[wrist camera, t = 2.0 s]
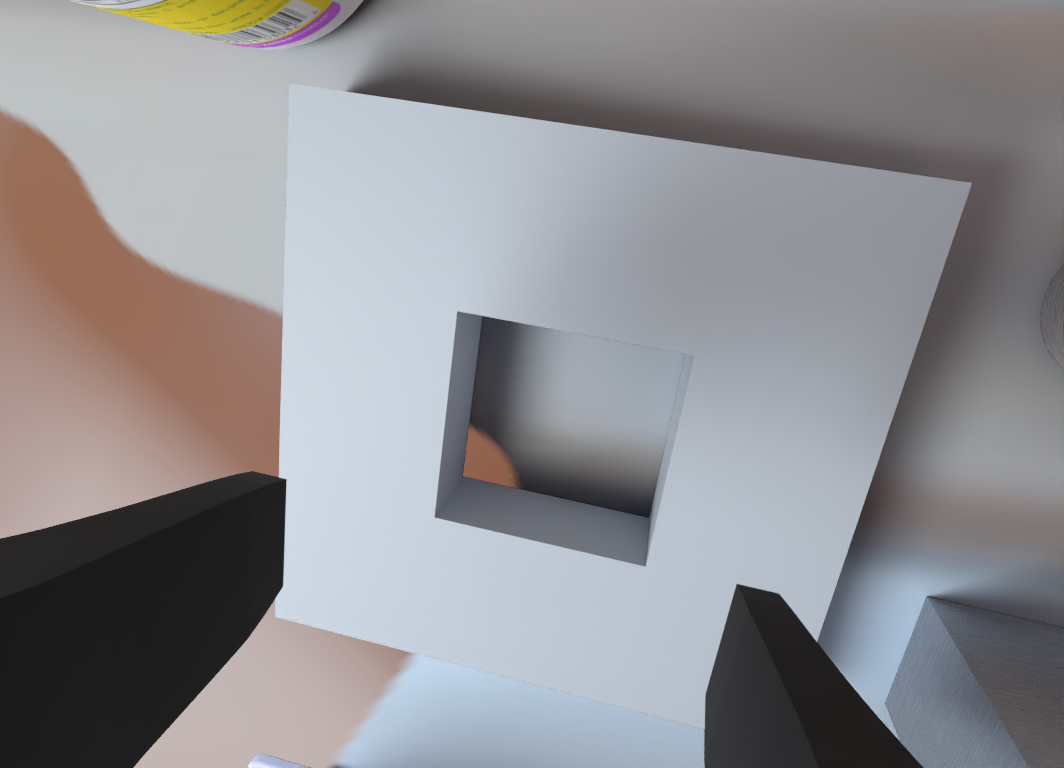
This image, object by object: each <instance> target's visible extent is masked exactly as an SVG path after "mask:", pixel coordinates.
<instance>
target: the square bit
mask: <svg viewBox="0 0 1064 768" xmlns="http://www.w3.org/2000/svg"><path fill="white" fill-rule="evenodd" d="M885 704H886V707H887V709H888V712H889V714H890V717H891V719H892V722H893V724H894V727H895V729H896V732H897V734H898V737H899V739H900V742H901V743H902V744H903V746H904V747H905V748H906V749H907V750H908V751H909V752H910V753H911V754H912V756H913V757H914V758H915V759H916V760H917V761H918V762H919V763H920V764H921V765H922V766H923V767H924V768H1064V627H1059V626H1055V625H1051V624H1046V623H1042V622H1037V621H1033V620H1028V619H1024V618H1020V617H1015V616H1011V615H1006V614H1002V613H997V612H993V611H989V610H984V609H980V608H975V607H971V606H966V605H962V604H958V603H953V602H949V601H944V600H940V599H935V598H931V597H927V598H926V600H925V603H924V605H923V608H922V611H921V613H920V616H919V618H918V621H917V623H916V626H915V628H914V631H913V634H912V636H911V639H910V641H909V644H908V646H907V649H906V651H905V654H904V657H903V659H902V662H901V664H900V667H899V669H898V672H897V674H896V677H895V680H894V682H893V685H892V687H891V690H890V692H889V695H888V697H887V700H886V703H885Z"/></svg>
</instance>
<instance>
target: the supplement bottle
mask: <svg viewBox="0 0 1064 768" xmlns="http://www.w3.org/2000/svg"><path fill="white" fill-rule="evenodd" d="M70 1H73V2H77V3H81V4H85V5H88V6H92V7H95V8H98V9H102V10H106V11H110V12H113V13H117V14H121V15H124V16H128V17H132V18H136V19H139V20H143V21H146V22H150V23H153V24H157V25H161V26H165V27H168V28H172V29H176V30H179V31H183V32H187V33H190V34H194V35H197V36H201V37H205V38H208V39H212V40H216V41H220V42H223V43H227V44H232V45H237V46H242V47H249V48H255V49H266V50H277V49H287V48H293V47H297V46H300V45H304V44H307V43H310V42H312V41H315V40H317V39H319V38H321V37H323V36H325V35H326V34H328V33H330V32H331V31H333V30H334V29H335V28H337V27H338V26H339V25H340V24H342V23H343V22H344V21H345V20H346V19H347V18H348V17H349V16H350V15H351V14H352V13H353V12H354V11H355V10H356V9H357V8H358V6H359V5H360V4H361V3H362V2H363V0H70Z"/></svg>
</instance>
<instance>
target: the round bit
mask: <svg viewBox="0 0 1064 768" xmlns="http://www.w3.org/2000/svg"><path fill="white" fill-rule="evenodd" d="M1041 331H1042V336H1043V339H1044V342H1045V345H1046V347H1047V349H1048V351H1049V352H1050V354H1051V355H1052V356H1053V358H1054V359H1055V360H1056V361H1057V362H1058V363H1059V364H1060V365H1061V366H1062V367H1063V368H1064V265H1063V267H1062V268H1061V269H1060V270H1059V272H1058V273H1057V274H1056V276H1055V277H1054V279H1053V280H1052V282H1051V283H1050V286H1049V288H1048V290H1047V292H1046V294H1045V297H1044V301H1043V304H1042V309H1041Z"/></svg>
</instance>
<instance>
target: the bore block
mask: <svg viewBox="0 0 1064 768" xmlns="http://www.w3.org/2000/svg"><path fill="white" fill-rule="evenodd" d="M971 185H972V183H969V182H963V181H956V180H949V179H942V178H935V177H928V176H921V175H915V174H908V173H901V172H894V171H887V170H880V169H873V168H867V167H860V166H853V165H846V164H839V163H832V162H825V161H819V160H812V159H805V158H798V157H791V156H784V155H777V154H770V153H764V152H757V151H750V150H743V149H736V148H729V147H722V146H716V145H709V144H702V143H695V142H688V141H681V140H674V139H668V138H661V137H654V136H647V135H640V134H633V133H626V132H620V131H613V130H606V129H599V128H592V127H585V126H578V125H571V124H565V123H558V122H551V121H544V120H537V119H530V118H523V117H517V116H510V115H503V114H496V113H489V112H482V111H475V110H469V109H462V108H455V107H448V106H441V105H434V104H427V103H420V102H414V101H407V100H400V99H393V98H386V97H379V96H372V95H366V94H359V93H352V92H345V91H338V90H331V89H324V88H318V87H311V86H304V85H297V84H290V83H289V112H288V149H287V187H286V224H285V262H284V300H283V337H282V338H283V339H282V375H281V377H282V378H281V413H280V450H279V478H283V479H287V481H286V513H285V546H284V578H283V587H282V589H281V590H280V592H279V593H278V595H277V597H276V600H275V617H278V618H282V619H286V620H289V621H294V622H297V623H301V624H305V625H309V626H313V627H316V628H320V629H324V630H328V631H331V632H335V633H339V634H343V635H346V636H350V637H354V638H358V639H362V640H365V641H370V642H373V643H377V644H381V645H385V646H388V647H392V648H396V649H400V650H404V651H407V652H411V653H415V654H419V655H423V656H426V657H430V658H434V659H438V660H442V661H445V662H449V663H453V664H457V665H461V666H464V667H468V668H472V669H476V670H480V671H483V672H487V673H491V674H495V675H499V676H502V677H506V678H510V679H514V680H518V681H521V682H525V683H529V684H533V685H537V686H541V687H544V688H548V689H552V690H556V691H560V692H563V693H567V694H571V695H575V696H579V697H582V698H586V699H590V700H594V701H598V702H601V703H605V704H609V705H613V706H617V707H620V708H624V709H628V710H632V711H636V712H639V713H643V714H647V715H651V716H655V717H658V718H662V719H666V720H670V721H674V722H677V723H681V724H685V725H689V726H693V727H696V728H700V729H704V730H705V695H706V691H707V687H708V684H709V680H710V677H711V673H712V669H713V666H714V662H715V659H716V655H717V652H718V648H719V645H720V641H721V638H722V634H723V631H724V627H725V623H726V620H727V616H728V613H729V609H730V606H731V602H732V599H733V595H734V592H735V588H736V584H740V585H744V586H748V587H753V588H757V589H761V590H766V591H770V592H774V593H779V594H780V595H781V597H782V598H783V599H784V600H785V601H786V603H787V604H788V605H789V606H790V608H791V609H792V610H793V612H794V613H795V614H796V615H797V617H798V618H799V619H800V621H801V622H802V623H803V625H804V626H805V627H806V629H807V630H808V631H809V632H810V634H811V635H812V636H813V638H814V639H815V640H816V642H817V641H818V638H819V635H820V632H821V629H822V626H823V623H824V620H825V617H826V614H827V611H828V608H829V605H830V602H831V599H832V596H833V593H834V591H835V588H836V585H837V582H838V579H839V576H840V573H841V570H842V567H843V564H844V561H845V558H846V555H847V552H848V549H849V546H850V543H851V540H852V537H853V534H854V531H855V528H856V525H857V522H858V520H859V517H860V514H861V511H862V508H863V505H864V502H865V499H866V496H867V493H868V490H869V487H870V484H871V481H872V478H873V475H874V472H875V469H876V466H877V463H878V460H879V457H880V454H881V451H882V448H883V446H884V443H885V440H886V437H887V434H888V431H889V428H890V425H891V422H892V419H893V416H894V413H895V410H896V407H897V404H898V401H899V398H900V395H901V392H902V389H903V386H904V383H905V380H906V377H907V375H908V372H909V369H910V366H911V363H912V360H913V357H914V354H915V351H916V348H917V345H918V342H919V339H920V336H921V333H922V330H923V327H924V324H925V321H926V318H927V315H928V312H929V309H930V306H931V304H932V301H933V298H934V295H935V292H936V289H937V286H938V283H939V280H940V277H941V274H942V271H943V268H944V265H945V262H946V259H947V256H948V253H949V250H950V247H951V244H952V241H953V238H954V235H955V232H956V230H957V227H958V224H959V221H960V218H961V215H962V212H963V209H964V206H965V203H966V200H967V197H968V194H969V191H970V188H971ZM482 316H486V317H491V318H496V319H501V320H507V321H512V322H517V323H523V324H528V325H533V326H539V327H544V328H549V329H555V330H560V331H565V332H570V333H576V334H581V335H586V336H592V337H597V338H602V339H608V340H613V341H618V342H624V343H629V344H634V345H639V346H645V347H650V348H655V349H661V350H666V351H671V352H677V353H682V354H686V357H685V361H684V365H683V370H682V374H681V379H680V383H679V388H678V392H677V397H676V401H675V405H674V410H673V414H672V419H671V423H670V428H669V432H668V436H667V441H666V445H665V450H664V454H663V459H662V463H661V467H660V472H659V476H658V481H657V485H656V490H655V494H654V498H653V503H652V507H651V512H650V516H649V518H647V517H643V516H638V515H634V514H629V513H625V512H620V511H616V510H611V509H607V508H602V507H598V506H593V505H589V504H584V503H580V502H575V501H571V500H566V499H562V498H557V497H553V496H549V495H544V494H540V493H535V492H531V491H526V490H522V489H517V488H513V487H508V486H503V485H499V484H495V483H490V482H486V481H481V480H476V479H472V478H468V477H463V470H464V461H465V453H466V445H467V437H468V429H469V421H470V413H471V405H472V396H473V388H474V380H475V372H476V364H477V356H478V348H479V339H480V331H481V323H482Z"/></svg>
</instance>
